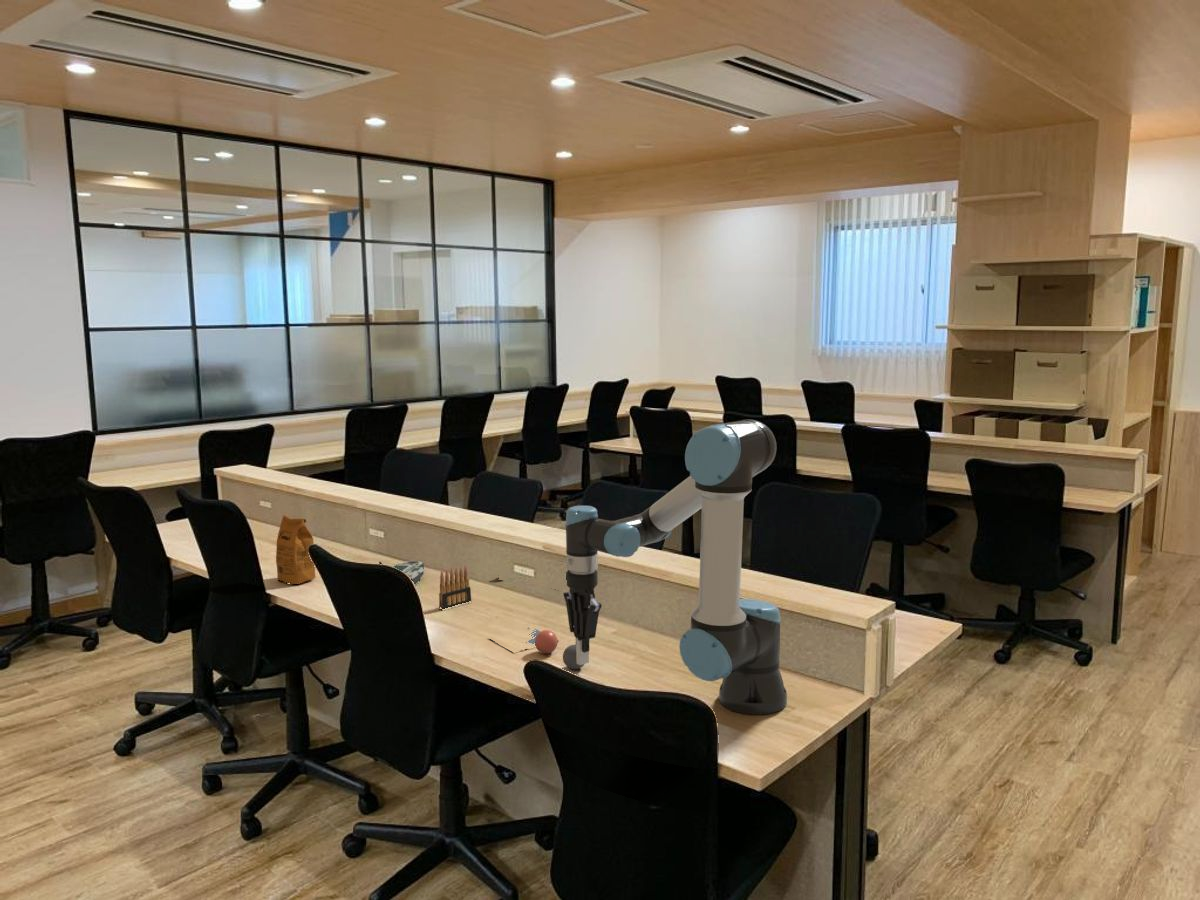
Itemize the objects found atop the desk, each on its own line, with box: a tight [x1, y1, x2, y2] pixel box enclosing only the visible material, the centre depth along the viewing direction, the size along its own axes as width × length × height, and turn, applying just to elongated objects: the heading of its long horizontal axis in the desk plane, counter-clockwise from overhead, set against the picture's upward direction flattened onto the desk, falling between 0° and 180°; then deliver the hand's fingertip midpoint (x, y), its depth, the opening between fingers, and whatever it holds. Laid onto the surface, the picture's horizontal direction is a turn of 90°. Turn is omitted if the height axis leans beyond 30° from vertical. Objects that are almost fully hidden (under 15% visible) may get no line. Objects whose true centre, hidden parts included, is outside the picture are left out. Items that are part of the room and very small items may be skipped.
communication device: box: [378, 560, 425, 585], centre depth 309 cm, size 12×24×9 cm, turn 175°
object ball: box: [535, 629, 559, 655], centre depth 238 cm, size 6×6×6 cm
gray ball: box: [562, 644, 585, 670], centre depth 228 cm, size 6×6×6 cm
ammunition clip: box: [438, 564, 472, 609], centre depth 277 cm, size 11×2×12 cm, turn 135°
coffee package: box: [275, 514, 316, 585], centre depth 306 cm, size 10×12×22 cm
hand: (582, 662), depth 224 cm, fingers closed
